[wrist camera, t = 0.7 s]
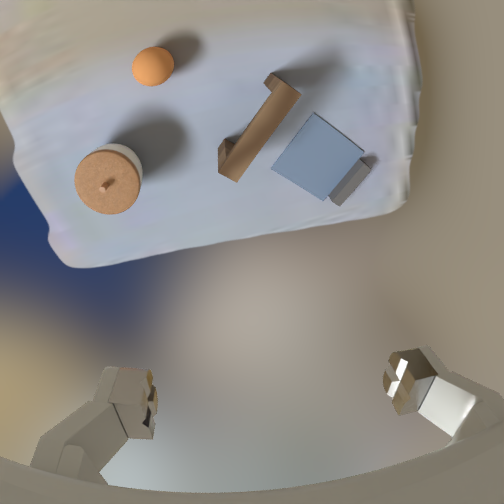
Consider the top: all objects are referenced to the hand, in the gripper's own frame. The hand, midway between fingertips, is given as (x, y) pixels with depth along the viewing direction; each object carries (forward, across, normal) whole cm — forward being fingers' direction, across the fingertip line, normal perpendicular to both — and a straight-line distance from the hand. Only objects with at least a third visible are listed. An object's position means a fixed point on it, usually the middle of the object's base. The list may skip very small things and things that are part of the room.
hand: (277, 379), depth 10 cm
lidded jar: (+46, +19, -2) cm, 50 cm away
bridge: (+44, -3, -9) cm, 45 cm away
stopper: (+47, -21, +2) cm, 52 cm away
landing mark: (+46, -15, -2) cm, 49 cm away
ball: (+39, +11, -17) cm, 44 cm away
